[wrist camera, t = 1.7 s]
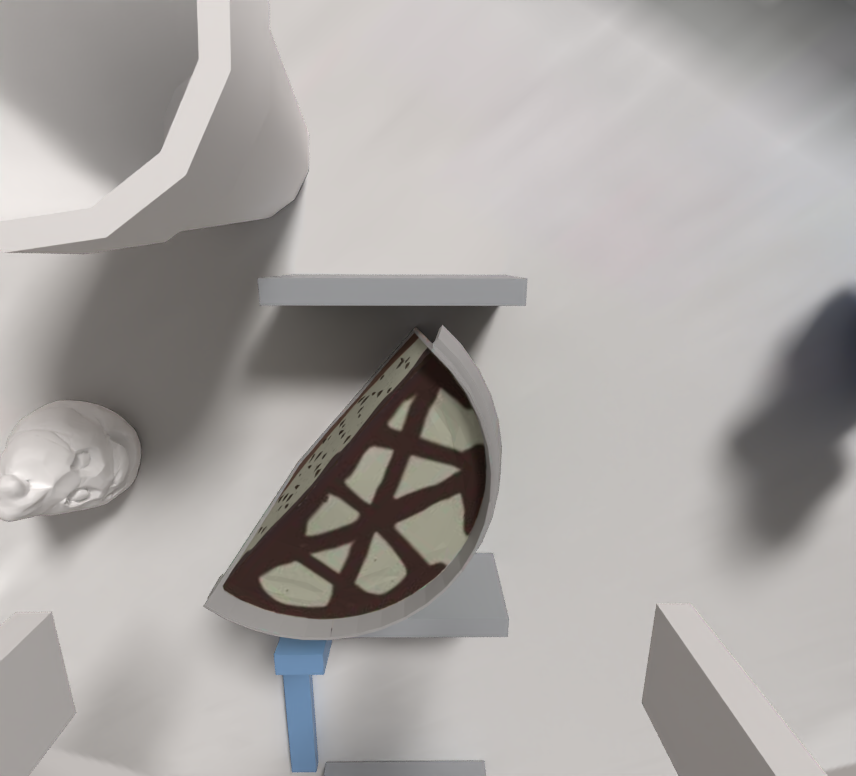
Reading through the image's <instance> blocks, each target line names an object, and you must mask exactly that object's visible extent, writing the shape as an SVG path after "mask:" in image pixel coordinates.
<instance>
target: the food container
mask: <svg viewBox="0 0 856 776" xmlns="http://www.w3.org/2000/svg"><path fill="white" fill-rule="evenodd" d="M501 454H502V444H501V436H500V428H499V420H498V417H497V413H496V410H495V407H494V403H493V400H492V396H491V393H490V391H489V389H488V387H487V385H486V383H485V381H484V379H483V377H482V375H481V373H480V371H479V369H478V367H477V366H476V364H475V363H474V361H473V360H472V359H471V357H470V356H469V354H468V353H467V351H466V350H465V349H464V347H463V346H462V344H461V343H460V342H459V341H458V340H457V339H456V338H455V337H454V336H453V335H452V334H451V333H450V332H449V331H448V330H447V329H446V328H445V327H444V326H443V325H442V326H441V327H440V328H439V331H438V334H437V336H436V339H435V341H434V342H433V343H431V342H430V341H429V340H428V339H427V338H426V337H425V336H424V335H423V334H422V333H421V332H420V331H419V330H418V329H417V328H416V327H415V328H414V329H413V330H412V331H411V333H410V334H409V335H408V336H407V337H406V338H405V340H404V341H403V342H402V343H401V344H400V345H399V346H398V348H397V349H396V350H395V351H394V352H393V353H392V354H391V356H390V357H389V358H388V359H387V360H386V361H385V362H384V364H383V365H382V366H381V367H380V368H379V369H378V371H377V372H376V373H375V374H374V375H373V376H372V377H371V379H370V380H369V381H368V382H367V383H366V384H365V385H364V387H363V388H362V389H361V390H360V391H359V392H358V393H357V395H356V396H355V397H354V398H353V399H352V400H351V402H350V403H349V404H348V405H347V406H346V407H345V408H344V410H343V411H342V412H341V413H340V414H339V415H338V416H337V418H336V419H335V420H334V421H333V422H332V423H331V424H330V426H329V427H328V428H327V429H326V430H325V431H324V433H323V434H322V435H321V436H320V437H319V438H318V439H317V441H316V442H315V443H314V444H313V445H312V446H311V447H310V449H309V450H308V451H307V452H306V453H305V454H304V455H303V457H302V458H301V459H300V460H299V461H298V463H297V464H296V466H295V467H294V469H293V470H292V472H291V473H290V475H289V476H288V478H287V480H286V481H285V483H284V484H283V486H282V487H281V489H280V490H279V492H278V493H277V495H276V496H275V498H274V499H273V501H272V502H271V504H270V505H269V507H268V508H267V510H266V511H265V513H264V514H263V516H262V518H261V519H260V521H259V522H258V524H257V525H256V527H255V528H254V530H253V531H252V533H251V534H250V536H249V537H248V539H247V540H246V542H245V543H244V545H243V546H242V548H241V549H240V551H239V552H238V554H237V556H236V557H235V559H234V560H233V562H232V563H231V565H230V566H229V568H228V569H227V571H226V572H225V574H224V575H223V574H222V575H221V576H220V577H219V579H218V581H217V582H216V584H215V586H214V588H213V589H212V591H211V593H210V594H209V596H208V600H207V601H206V603H205V605H204V606H203V607H205V608H207V609H208V610H210V611H212V612H214V613H215V614H217V615H219V616H221V617H223V618H224V619H226V620H229V621H231V622H234V623H236V624H238V625H241V626H243V627H246V628H248V629H251V630H254V631H258V632H262V633H266V634H269V635H273V636H277V637H285V638H292V639H300V640H334V639H342V638H350V637H357V636H360V635H364V634H368V633H372V632H375V631H379V630H382V629H385V628H387V627H389V626H392V625H394V624H396V623H399V622H401V621H403V620H406V619H407V618H409V617H411V616H412V615H414V614H415V613H417V612H419V611H420V610H422V609H424V608H425V607H427V606H428V605H429V604H431V603H432V602H433V601H434V600H435V599H437V598H438V597H439V596H440V595H441V594H443V593H444V592H445V591H446V590H447V589H448V588H449V587H450V586H451V585H452V583H453V582H454V581H455V580H456V579H457V578H458V577H459V575H460V574H461V573H462V572H463V571H464V569H465V568H466V566H467V565H468V564H469V562H470V560H471V559H472V557H473V556H474V554H475V552H476V551H477V549H478V548H479V546H480V545H481V543H482V541H483V539H484V537H485V534H486V532H487V529H488V527H489V525H490V522H491V520H492V517H493V513H494V509H495V504H496V500H497V496H498V491H499V482H500V474H501Z"/></svg>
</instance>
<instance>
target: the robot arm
mask: <svg viewBox="0 0 856 776" xmlns="http://www.w3.org/2000/svg"><path fill="white" fill-rule="evenodd" d="M642 704H643V706H644V708H645V710H646V712H647V714H648V716H649V718H650V720H651V722H652V724H653V726H654V728H655V730H656V732H657V734H658V736H659V738H660V740H661V742H662V744H663V746H664V748H665V750H666V752H667V754H668V756H669V758H670V760H671V762H672V764H673V766H674V768H675V770H676V772H677V774H678V776H828V775H827V774H826V773H825V772H824V770H823V769H822V768H821V767H820V765H819V764H818V763H817V762H816V760H815V759H814V758H813V756H812V755H811V754H810V753H809V751H808V750H807V749H806V748H805V746H804V745H803V744H802V743H801V741H800V740H799V739H798V738H797V736H796V735H795V734H794V733H793V731H792V730H791V729H790V728H789V726H788V725H787V724H786V722H785V721H784V720H783V719H782V717H781V716H780V715H779V714H778V712H777V711H776V710H775V709H774V707H773V706H772V705H771V704H770V702H769V701H768V700H767V699H766V697H765V696H764V695H763V693H762V692H761V691H760V690H759V688H758V687H757V686H756V685H755V683H754V682H753V681H752V680H751V678H750V677H749V676H748V675H747V673H746V672H745V671H744V670H743V668H742V667H741V666H740V665H739V663H738V662H737V661H736V659H735V658H734V657H733V656H732V654H731V653H730V652H729V651H728V649H727V648H726V647H725V646H724V644H723V643H722V642H721V641H720V639H719V638H718V637H717V636H716V634H715V633H714V632H713V630H712V629H711V628H710V627H709V625H708V624H707V623H706V622H705V620H704V619H703V618H702V617H701V615H700V614H699V613H698V612H697V610H696V609H695V608H694V607H693V605H692V604H691V603H666V604H656V611H655V617H654V624H653V630H652V637H651V644H650V650H649V657H648V664H647V670H646V677H645V684H644V690H643V697H642ZM75 714H76V710H75V706H74V702H73V697H72V693H71V689H70V685H69V681H68V677H67V673H66V669H65V664H64V660H63V656H62V652H61V648H60V644H59V640H58V635H57V631H56V627H55V623H54V619H53V615H52V612H15V613H14V614H13V615H12V616H11V617H9V618H8V619H7V620H6V621H5V622H4V623H3V624H2V625H0V776H29V775H30V774H31V772H32V771H33V770H34V768H35V767H36V766H37V764H38V763H39V761H40V760H41V759H42V758H43V756H44V755H45V754H46V752H47V751H48V750H49V748H50V747H51V746H52V744H53V743H54V742H55V740H56V739H57V738H58V736H59V735H60V734H61V732H62V731H63V730H64V728H65V727H66V726H67V724H68V723H69V722H70V720H71V719H72V718H73V716H74V715H75Z"/></svg>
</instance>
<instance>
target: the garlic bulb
mask: <svg viewBox="0 0 856 776" xmlns="http://www.w3.org/2000/svg"><path fill="white" fill-rule="evenodd" d="M140 460H141V445H140V441H139V438H138V436H137V433H136V431H135V429H134V428H133V427H132V426H131V425H130V424H129V423H128V422H127V421H126V420H125V419H123V418H122V417H121V416H120V415H118V414H117V413H116V412H113V411H111V410H109V409H107V408H105V407H103V406H101V405H98V404H94V403H89V402H85V401H75V400H59V401H54V402H51V403H48V404H46V405H44V406H42V407H40V408H39V409H37V410H35V411H33V412H32V413H30V414H29V415H27V416H26V417H24V418H23V419H21V420H20V421H19V422H18V423H17V425H16V426H15V428H14V429H13V430H12V432H11V433H10V435H9V437H8V439H7V442H6V447H5V450H4V452H3V453H2V455H1V457H0V519H2V520H4V521H8V522H11V521H17V520H21V519H26V518H32V517H34V516H50V515H57V514H64V513H69V512H73V511H80V510H86V509H91V508H95V507H98V506H102V505H105V504H107V503H109V502H110V501H111V500H112V499H114V498H116V497H117V496H118V495H119V494H121V493H122V492H123V491H125V490H126V489H127V488H129V487H130V485H131V484H132V483H133V481H134V480H135V478H136V476H137V473H138V468H139V465H140Z"/></svg>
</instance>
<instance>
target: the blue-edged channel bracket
mask: <svg viewBox="0 0 856 776" xmlns="http://www.w3.org/2000/svg"><path fill="white" fill-rule="evenodd" d="M258 290H259V301H260V305H286V306H526V293H527V279H526V278H520V277H514V276H508V275H294V274H293V275H283V276H273V277H264V278H258ZM508 625H509V617H508V613H507V609H506V605H505V600H504V596H503V592H502V588H501V584H500V580H499V575H498V571H497V567H496V563H495V559H494V555H493V553H475V554H474V556H473V557H472V559H471V560H470V562H469V564H468V565H467V566H466V568H465V569H464V571H463V572H462V573H461V574H460V575H459V577H458V578H457V579H456V580H455V581H454V582H453V583H452V585H451V586H450V587H449V588H448V589H447V590H446V591H445V592H444V593H443V594H441V595H440V596H439V597H438V598H437V599H435V600H434V601H433V602H432V603H431V604H429V605H428V606H427V607H425V608H424V609H422V610H420V611H419V612H417V613H415V614H414V615H412V616H411V617H409V618H407V619H406V620H403V621H401V622H399V623H396V624H394V625H392V626H389V627H387V628H385V629H382V630H379V631H375V632H372V633H368V634H364V635H360V636H357V637H350V638H399V637H508ZM331 643H332V640H300V639H292V638H285V637H280V640H279V643H278V645H277V648H276V651H275V653H274V662H275V672H276V675H283V680H284V691H285V702H286V712H287V723H288V734H289V745H290V756H291V766H292V772H316V771H317V767H318V750H317V737H316V723H315V710H314V696H313V683H312V675H324V673H325V668H326V664H327V660H328V656H329V652H330V648H331ZM324 776H486V770H485V762H484V761H407V762H326V766H325V772H324Z"/></svg>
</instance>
